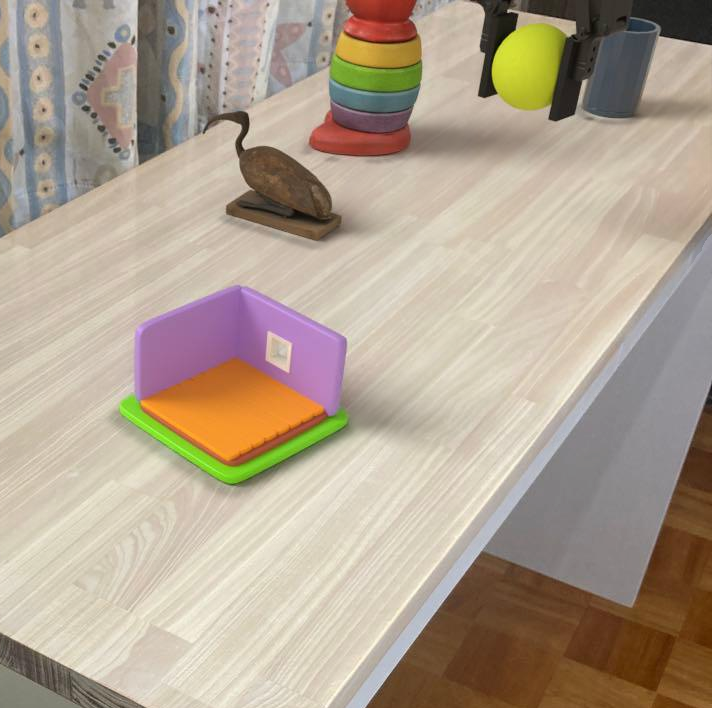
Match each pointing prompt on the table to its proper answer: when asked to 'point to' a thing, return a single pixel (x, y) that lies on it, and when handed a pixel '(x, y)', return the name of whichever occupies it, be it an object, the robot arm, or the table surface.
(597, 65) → the cup
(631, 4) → the robot arm
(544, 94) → the tennis ball
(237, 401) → the miniature room corner
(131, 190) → the table surface
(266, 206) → the figurine
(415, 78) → the stacking bear
